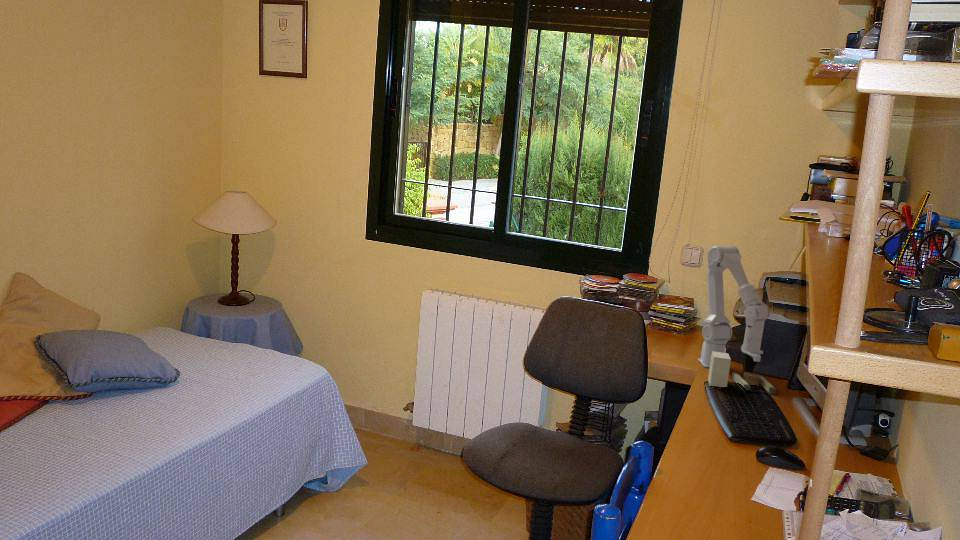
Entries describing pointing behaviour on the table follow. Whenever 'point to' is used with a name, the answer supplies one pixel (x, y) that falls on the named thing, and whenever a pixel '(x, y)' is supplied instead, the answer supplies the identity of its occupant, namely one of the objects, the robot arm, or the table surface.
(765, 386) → the rail track
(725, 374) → the small box
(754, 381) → the walnut block
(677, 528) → the table surface
